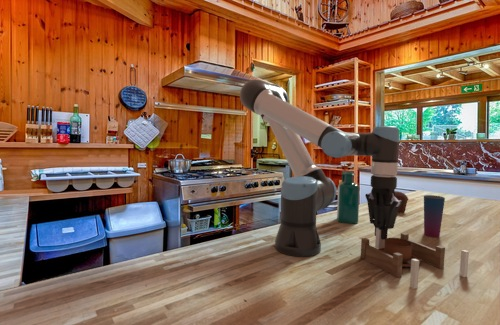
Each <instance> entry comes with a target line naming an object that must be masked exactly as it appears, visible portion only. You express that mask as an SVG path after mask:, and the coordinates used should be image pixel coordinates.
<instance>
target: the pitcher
mask: <svg viewBox="0 0 500 325" xmlns="http://www.w3.org/2000/svg"><path fill="white" fill-rule="evenodd" d="M354 176H356V173H355V172H354V171H353V170H352V171H350V170H341V182H339V184H337V185H338V186H337V187H338V188H337V207H336V208H337V209H336V210H337V212H336V218H337V221H338V222H339V223H342V224H358V223H359V214H360V213H359V212H360V210H359V209H360V189H361V188H360V186H359V185H358V183H356V182H354Z"/></svg>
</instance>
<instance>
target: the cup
mask: <svg viewBox="0 0 500 325" xmlns="http://www.w3.org/2000/svg"><path fill="white" fill-rule="evenodd" d="M445 200H446V198H445V197H444V196H440V195H432V194H425V195H423V234H424V236H427V237H430V238H439V237H440V236H441V235H440V234H441V229H442V228H441V226H442V221H443V215H444V209H445V208H444V206H445Z"/></svg>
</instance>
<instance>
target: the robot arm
mask: <svg viewBox="0 0 500 325" xmlns="http://www.w3.org/2000/svg"><path fill="white" fill-rule="evenodd" d="M239 99H240V100H239V101H240V103H241V105H243V107H244V108H245V109H247V110H249V111H250V112H253V113H254V114H256V115H259V116H260V117H261V120H262V121H263V122H264V123H268V125H269V127H270V129H271V131H272V133H273V135H274V137H275V139H276V141H277V143H278V145H279V147H280V149H281V151H282V154H283V155H284V158H285V159H286V161H287V164H288V166H289V168H290V169H291V172H292V173H293V176H292V177H287V178H284V179H283V181H282V182H281V189H280V225H279V228H278V230H277V234H276V237H275V239H274V248H275V249H276V251H278V252H280V253H282V254H284V255H287V256H292V257H311V256H312V257H313V256H316V255H318V254H320V252H321V250H322V248H321V247H322V242H321V238H320V236H319V232H318V228H317V212H319V211H320V210H323V209H326V208H327V207H329V206H330V205H331V204H333V202H334V201H335V199H336V197H337V187H336V184H335V182H334V181H333V180H332V179H331V178H330V177H327V176H326V174H325V173H324V171H323V168H321V167H319V166H316V165H315V163H314V160H313V159H312V157H311V155H310V153H309V150H308V149H307V147H306V146H305V142H304V141H303V140H302V138H303V139H305V140H306V141H308V142H310V143H312V144H314V145H315V146H317V147H319V148H320V149H322V151H323V152H324V154H326V156H328V157H331V158H335V159H336V158H338V159H339V158H343V157H351V156H364V157H371V164H370V166H371V167H370V168H371V169H370V170H371V171H370V174H372V175H371V176H370V187H372V189H371V191H370V192H369V193H366V194H365V199H366V201H367V209H368V217H369V224H371V225H373V227H374V236H375V244H374V245H375V246H374V248H377V249H381V248H384V246H385V239H386V238H388V232H389V230H390V229H394V227H395V224H396V220H397V217H398V214H399V213H398V210H399V207H400V206H401V204H402V201H401V200H398V199H397V198H396V197H395V196H396V194H395V191H396V189H397V187H398V186H397V185H398V177H397V175H398V165H399V152H400V151H399V149H400V130H399V127H397V126H396V125H395V126H393V125H392V126H391V125H390V126H388V125H387V126H386V125H385V126H383V125H382V126H381V125H379V126H374V127H373V128H372V132H349V131H347V132H346V131H343V130H341V129H339V128H337V127H335V126H333V125H331V124H329V123H327V122H326V121H324V120H322V119H320V118H319V117H316V116H314V115H312V114H311V113H308V112H307V111H305V110H303V109H300V108H299V107H298V106H295V105H293V104H292V103H289V95H288V93H287V92H286V90H285V89H284V88H283V87H281V86H279V84H275V83H271V82H266V81H263V80H260V79H250V80H248V81H247V82H245V83H244V84H243V86H242V87H241V89H240V93H239Z"/></svg>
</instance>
